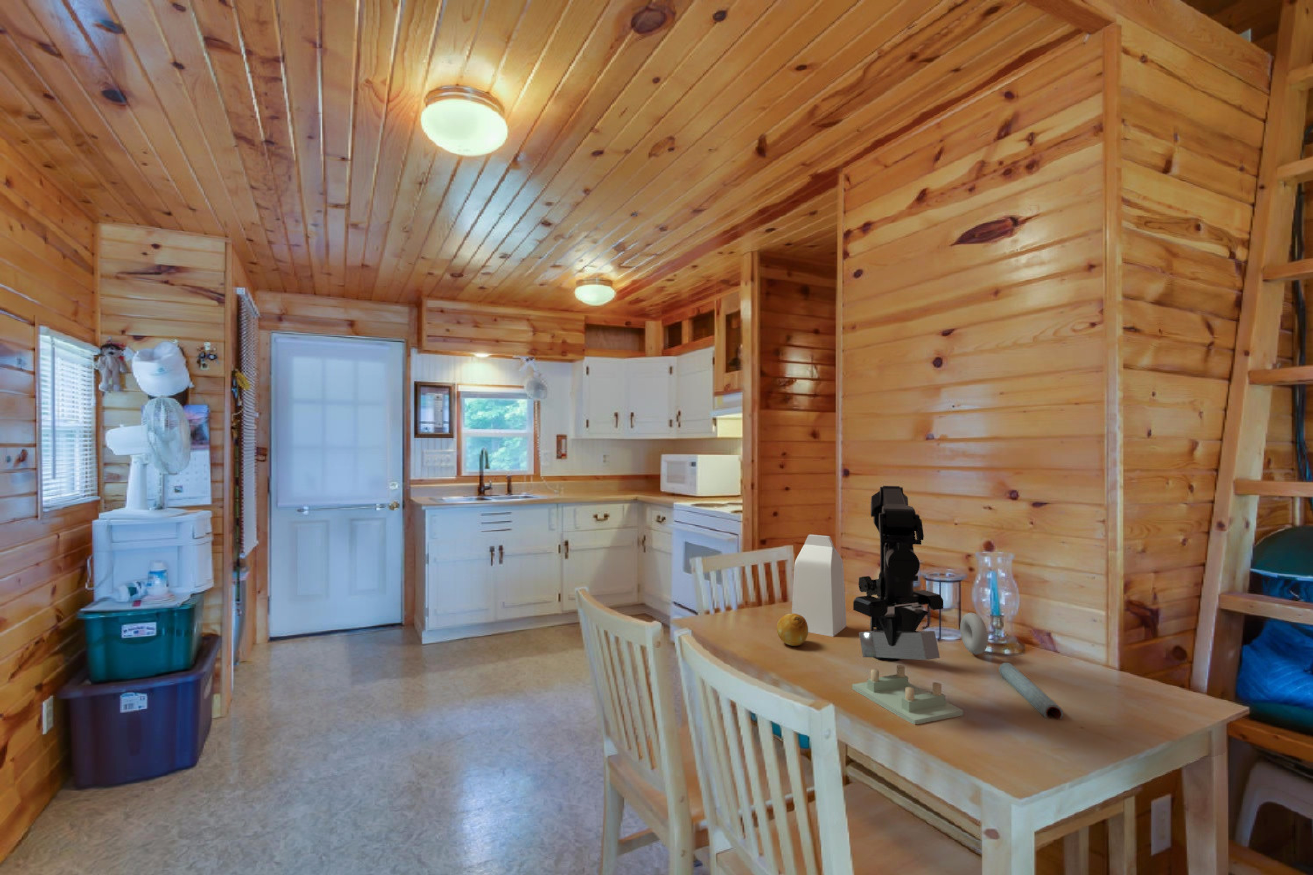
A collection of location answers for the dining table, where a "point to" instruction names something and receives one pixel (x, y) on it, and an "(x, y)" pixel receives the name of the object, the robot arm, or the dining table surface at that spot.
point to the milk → (820, 586)
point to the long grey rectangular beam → (900, 645)
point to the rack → (907, 698)
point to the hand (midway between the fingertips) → (898, 644)
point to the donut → (974, 633)
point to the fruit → (792, 629)
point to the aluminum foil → (1030, 691)
